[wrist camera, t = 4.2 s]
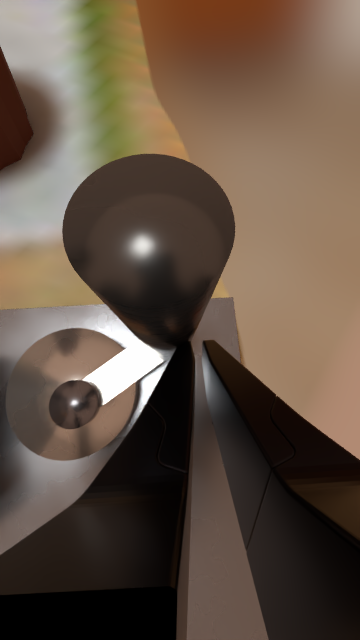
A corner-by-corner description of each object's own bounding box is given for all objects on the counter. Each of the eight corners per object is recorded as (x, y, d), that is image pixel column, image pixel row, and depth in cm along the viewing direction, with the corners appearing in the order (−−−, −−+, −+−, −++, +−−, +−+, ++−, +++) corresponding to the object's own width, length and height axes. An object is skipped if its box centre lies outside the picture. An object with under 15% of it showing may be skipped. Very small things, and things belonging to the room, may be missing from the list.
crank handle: (211, 363, 15) (336, 314, 3) (57, 481, 13) (-720, 1164, 2) (146, 278, 16) (76, 27, 5) (-2, 376, 15) (-692, 369, 3)
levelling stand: (275, 712, 13) (452, 1294, 5) (-66, 750, 12) (-548, 1494, 4) (229, 302, 18) (274, 240, 10) (-13, 315, 17) (-178, 260, 9)
